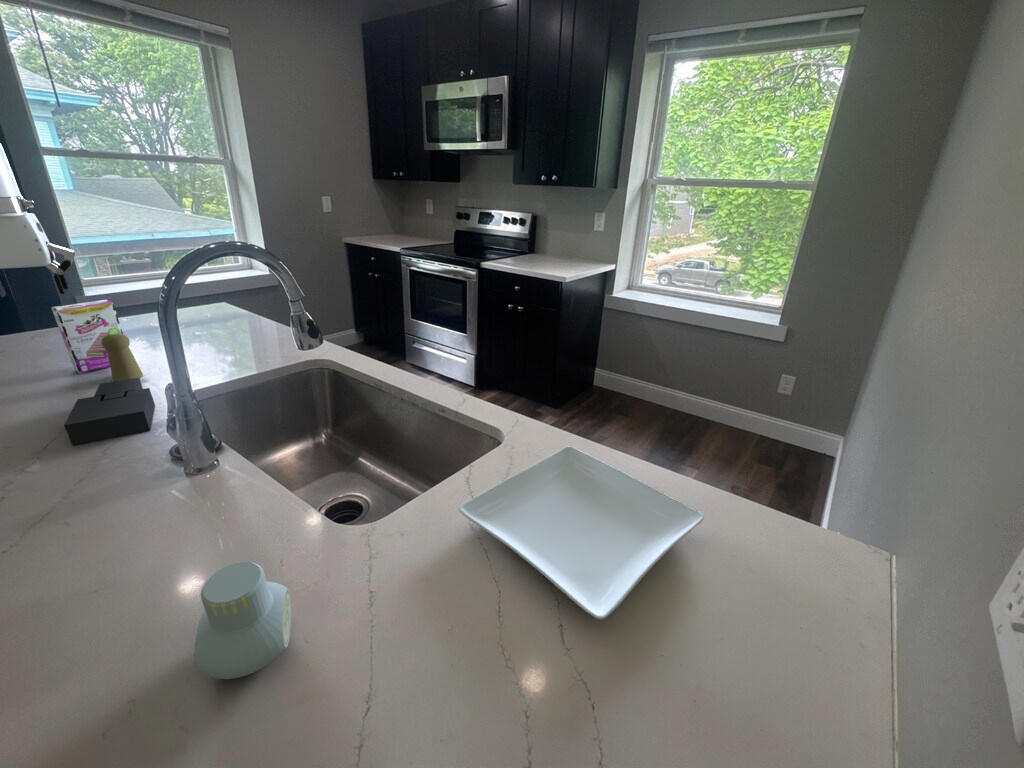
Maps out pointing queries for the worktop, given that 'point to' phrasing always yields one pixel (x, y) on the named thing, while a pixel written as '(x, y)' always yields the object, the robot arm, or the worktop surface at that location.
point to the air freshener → (241, 622)
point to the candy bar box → (87, 332)
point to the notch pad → (110, 417)
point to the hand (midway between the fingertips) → (33, 294)
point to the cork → (121, 357)
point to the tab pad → (117, 388)
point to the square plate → (583, 525)
